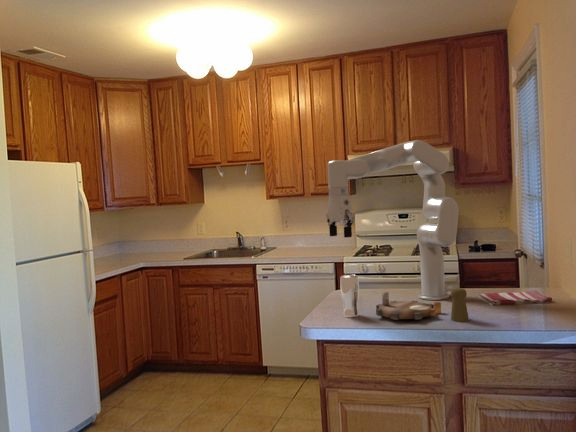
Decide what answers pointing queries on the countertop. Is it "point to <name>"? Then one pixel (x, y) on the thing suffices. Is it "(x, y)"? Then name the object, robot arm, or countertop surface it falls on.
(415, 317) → the sprocket wheel
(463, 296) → the cork
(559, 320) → the countertop surface
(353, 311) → the beer glass
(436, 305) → the orange wooden block
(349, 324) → the countertop surface
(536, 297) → the dish towel
